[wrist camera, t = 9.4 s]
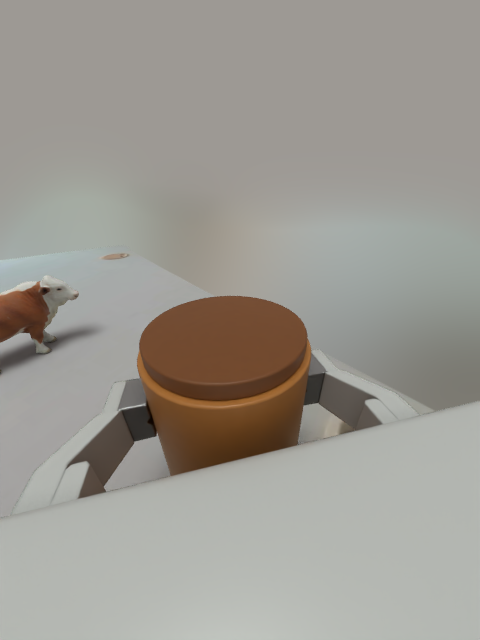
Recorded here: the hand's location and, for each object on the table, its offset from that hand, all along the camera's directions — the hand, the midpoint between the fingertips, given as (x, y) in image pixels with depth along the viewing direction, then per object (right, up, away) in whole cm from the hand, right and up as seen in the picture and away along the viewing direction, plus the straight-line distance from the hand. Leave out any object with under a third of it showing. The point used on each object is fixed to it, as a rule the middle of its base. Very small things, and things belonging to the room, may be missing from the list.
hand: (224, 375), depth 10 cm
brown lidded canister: (0, -5, +2) cm, 5 cm away
